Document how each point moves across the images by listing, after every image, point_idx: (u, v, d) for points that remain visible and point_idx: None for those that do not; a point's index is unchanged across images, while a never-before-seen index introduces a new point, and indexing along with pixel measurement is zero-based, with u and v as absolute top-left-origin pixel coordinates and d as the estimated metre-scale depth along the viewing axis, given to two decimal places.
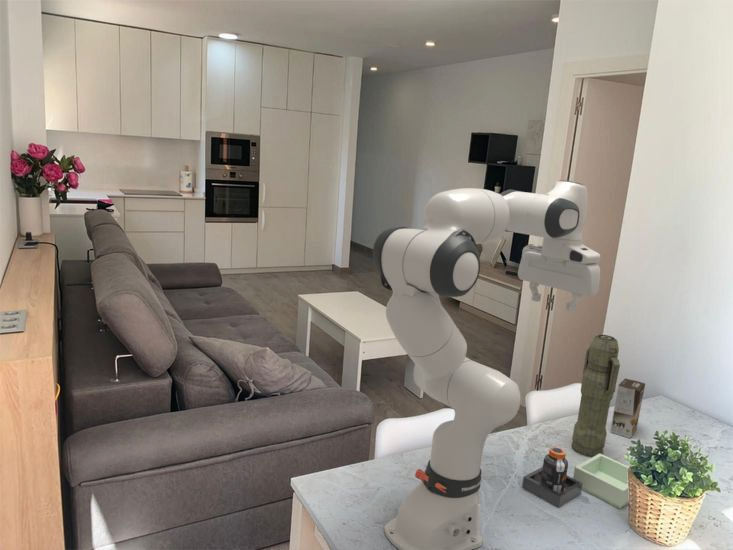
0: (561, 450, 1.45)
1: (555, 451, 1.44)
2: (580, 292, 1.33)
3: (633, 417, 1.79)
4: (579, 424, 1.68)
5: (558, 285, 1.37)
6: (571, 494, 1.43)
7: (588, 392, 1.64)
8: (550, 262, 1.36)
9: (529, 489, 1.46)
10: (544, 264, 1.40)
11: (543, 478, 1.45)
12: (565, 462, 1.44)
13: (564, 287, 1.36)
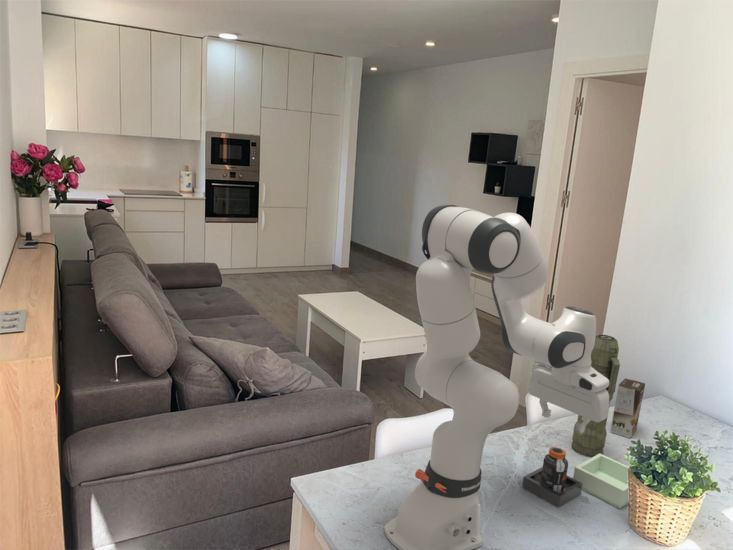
0: (561, 450, 1.45)
1: (555, 451, 1.44)
2: (590, 418, 1.36)
3: (633, 417, 1.79)
4: None
5: (568, 407, 1.40)
6: (571, 494, 1.43)
7: None
8: (560, 385, 1.40)
9: (529, 489, 1.46)
10: (553, 384, 1.43)
11: (543, 478, 1.45)
12: (565, 462, 1.44)
13: (574, 410, 1.39)
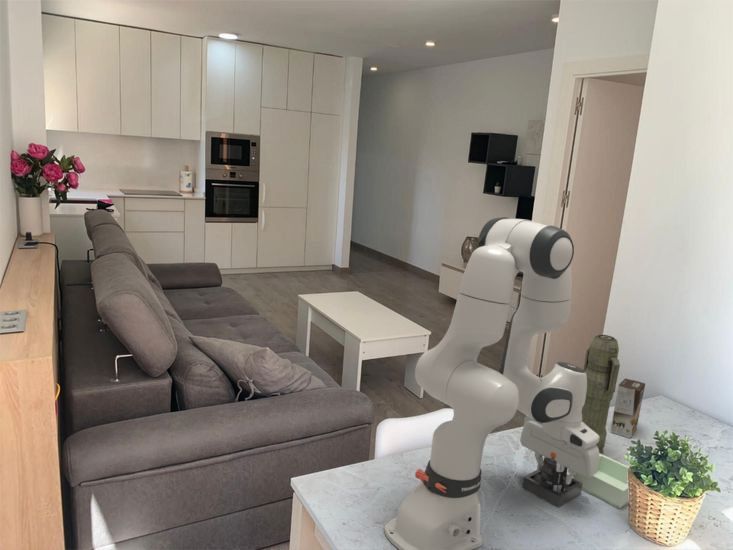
0: None
1: None
2: (580, 473, 1.38)
3: (633, 417, 1.79)
4: None
5: (559, 461, 1.43)
6: (571, 494, 1.43)
7: (588, 392, 1.64)
8: (551, 439, 1.42)
9: (529, 489, 1.46)
10: (545, 437, 1.45)
11: (543, 478, 1.45)
12: None
13: (564, 464, 1.41)
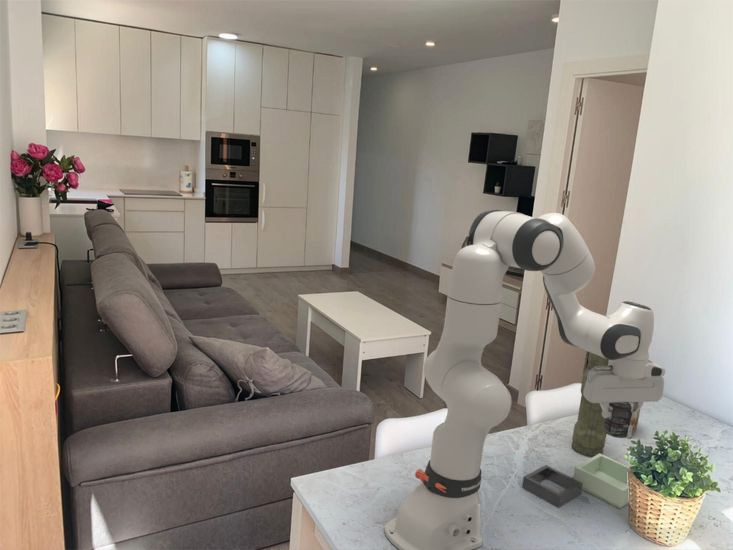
0: None
1: None
2: (653, 400, 1.45)
3: (633, 417, 1.79)
4: (579, 424, 1.68)
5: (633, 399, 1.44)
6: (571, 494, 1.43)
7: None
8: (631, 381, 1.41)
9: (529, 489, 1.46)
10: (617, 383, 1.42)
11: (619, 424, 1.44)
12: None
13: (638, 399, 1.44)
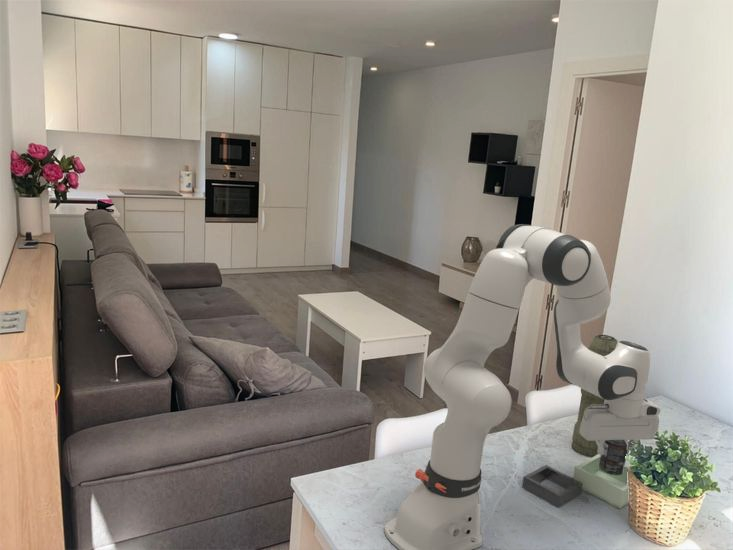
0: None
1: None
2: (648, 438, 1.47)
3: None
4: (579, 424, 1.68)
5: (628, 437, 1.46)
6: (571, 494, 1.43)
7: (588, 392, 1.64)
8: (627, 420, 1.43)
9: (529, 489, 1.46)
10: (613, 421, 1.44)
11: (614, 461, 1.46)
12: None
13: (633, 437, 1.46)
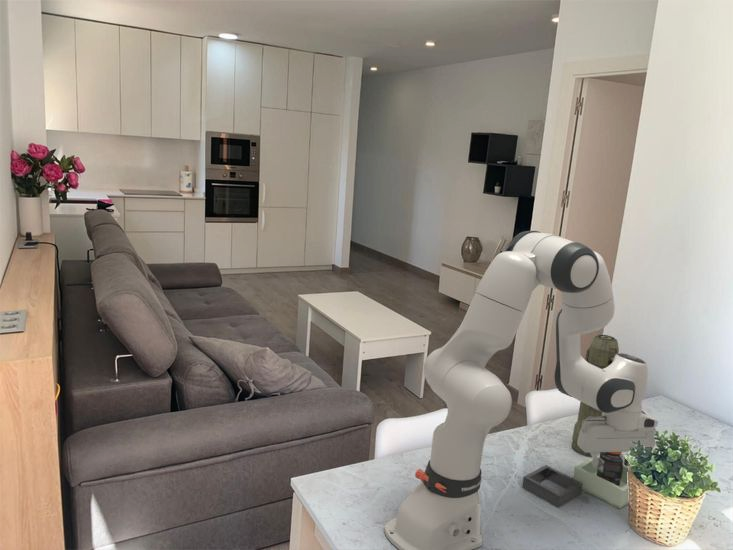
0: None
1: None
2: None
3: None
4: (579, 424, 1.68)
5: (625, 449, 1.46)
6: (571, 494, 1.43)
7: None
8: (624, 432, 1.44)
9: (529, 489, 1.46)
10: (611, 433, 1.45)
11: (610, 477, 1.47)
12: (620, 453, 1.49)
13: None
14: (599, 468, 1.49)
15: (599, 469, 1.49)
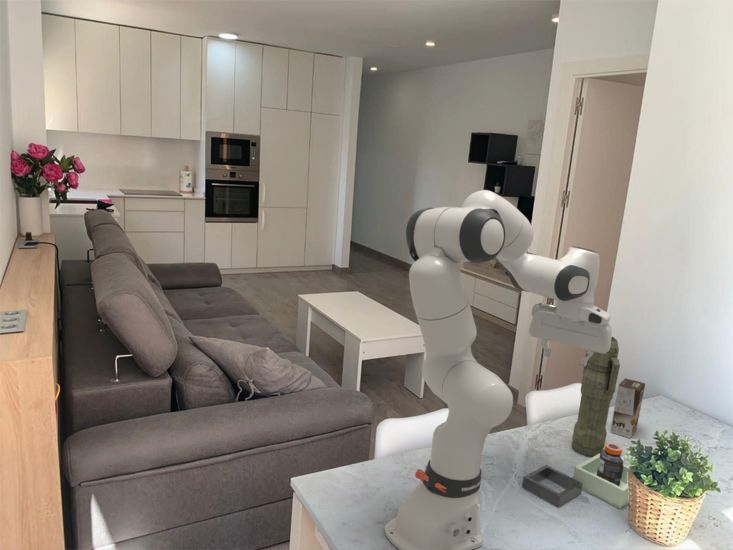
0: (614, 444, 1.49)
1: (615, 448, 1.47)
2: (597, 350, 1.44)
3: (633, 417, 1.79)
4: (579, 424, 1.68)
5: (573, 343, 1.47)
6: (571, 494, 1.43)
7: (588, 392, 1.64)
8: (567, 322, 1.46)
9: (529, 489, 1.46)
10: (558, 323, 1.49)
11: (610, 478, 1.47)
12: (621, 454, 1.49)
13: (580, 345, 1.46)
14: (599, 468, 1.49)
15: (599, 469, 1.49)
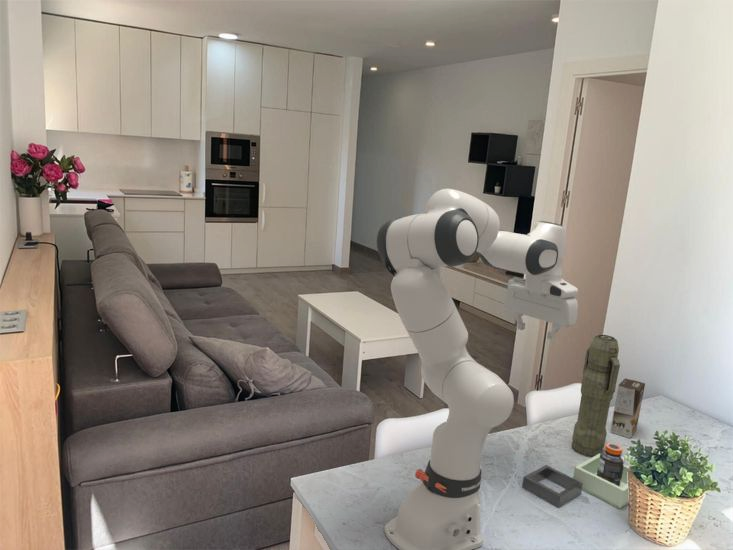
0: (614, 444, 1.49)
1: (616, 448, 1.47)
2: (559, 323, 1.45)
3: (633, 417, 1.79)
4: (579, 424, 1.68)
5: (540, 316, 1.50)
6: (571, 494, 1.43)
7: (588, 392, 1.64)
8: (532, 295, 1.49)
9: (529, 489, 1.46)
10: (527, 296, 1.52)
11: (610, 478, 1.47)
12: None
13: (545, 318, 1.48)
14: (599, 468, 1.49)
15: (599, 469, 1.49)
